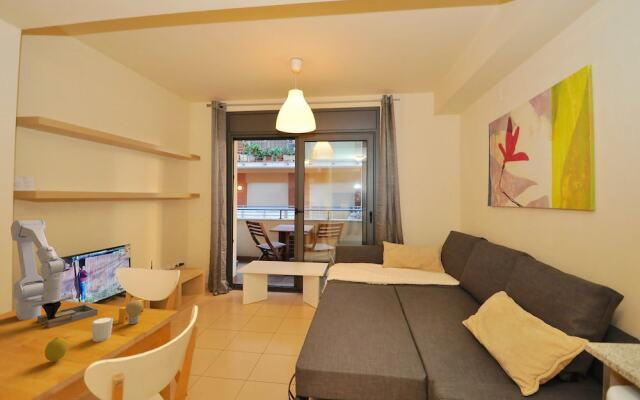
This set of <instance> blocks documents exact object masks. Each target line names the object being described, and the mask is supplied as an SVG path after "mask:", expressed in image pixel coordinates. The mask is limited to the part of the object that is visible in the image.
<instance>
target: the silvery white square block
mask: <svg viewBox="0 0 640 400" xmlns="http://www.w3.org/2000/svg"><path fill="white" fill-rule="evenodd" d="M63 313H65V314H66V316H67V315H70V316H71V315H75V314H76V312H75V311H73V310H70V311H66V312H63Z"/></svg>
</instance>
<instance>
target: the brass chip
mask: <svg viewBox="0 0 640 400" xmlns="http://www.w3.org/2000/svg"><path fill="white" fill-rule="evenodd" d="M64 316H66V314H65V313H63V312H62V313H58V314H55V317H54V319H56V318H60V317H64Z"/></svg>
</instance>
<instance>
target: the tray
mask: <svg viewBox="0 0 640 400" xmlns="http://www.w3.org/2000/svg"><path fill="white" fill-rule="evenodd" d="M70 310H73V311H75V312H78V311H82V310H85V311H87V312H83V313H79V314H75V315H71V316H72V321H74V322H77V321H80V319H81V320H84V319H87V317H88V318H91V316H92V317H95V316H98V308H95V307H93V306H91V305H88V304H87V303H84V304H83V303H82V304H80V305H76V306H72V307H68V308H62V309H60V310H59V311H62V312H66V311H70ZM94 315H95V316H94ZM83 318H84V319H83ZM76 320H77V321H76Z"/></svg>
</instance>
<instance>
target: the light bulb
mask: <svg viewBox="0 0 640 400" xmlns="http://www.w3.org/2000/svg"><path fill="white" fill-rule="evenodd" d="M138 300H139V299H135V300H131V301H129V302H128V303H127V304H126V306H125V307H126V312H127V314H128V315H129V321H128V324H129V325H136V324H138V323H139V321H140V315H139V313H140V312H141V311H142V308H143V304H142V302H141V301H138ZM141 313H142V312H141ZM141 313H140V314H141Z"/></svg>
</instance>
